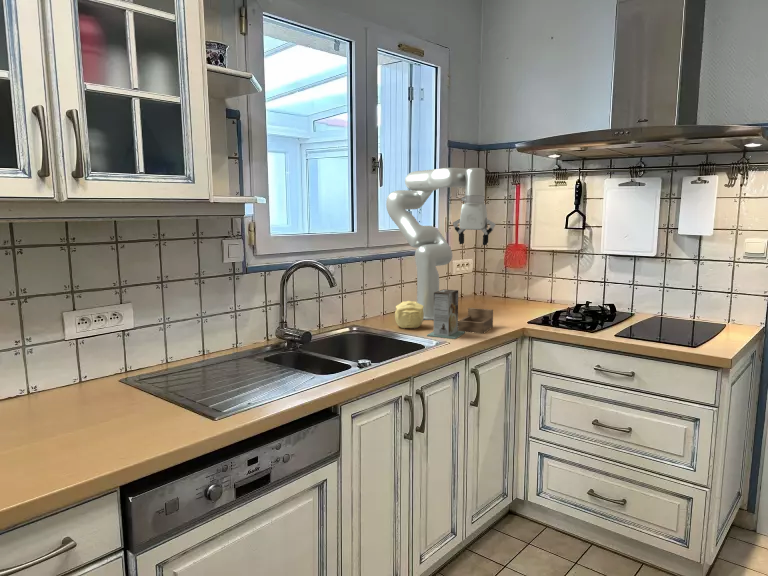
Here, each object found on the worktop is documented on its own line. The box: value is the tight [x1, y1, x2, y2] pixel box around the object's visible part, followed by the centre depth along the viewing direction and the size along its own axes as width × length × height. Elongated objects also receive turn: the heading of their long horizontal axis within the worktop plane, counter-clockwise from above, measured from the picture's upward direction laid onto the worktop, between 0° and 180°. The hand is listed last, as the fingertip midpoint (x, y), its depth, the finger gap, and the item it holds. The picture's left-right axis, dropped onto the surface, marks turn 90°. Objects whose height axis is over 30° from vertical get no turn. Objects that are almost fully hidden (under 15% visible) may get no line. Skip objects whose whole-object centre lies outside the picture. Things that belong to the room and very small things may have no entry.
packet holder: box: [458, 307, 494, 334], centre depth 220 cm, size 10×13×7 cm
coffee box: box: [433, 288, 459, 336], centre depth 210 cm, size 9×6×16 cm
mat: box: [426, 330, 466, 340], centre depth 211 cm, size 11×11×1 cm
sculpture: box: [394, 300, 424, 329], centre depth 224 cm, size 11×12×11 cm
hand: (473, 244), depth 221 cm, fingers open, 9 cm apart
